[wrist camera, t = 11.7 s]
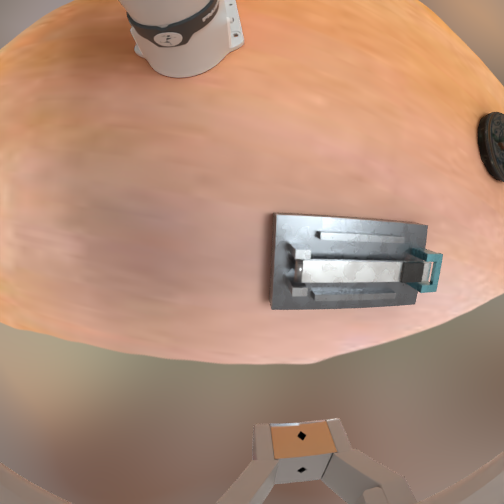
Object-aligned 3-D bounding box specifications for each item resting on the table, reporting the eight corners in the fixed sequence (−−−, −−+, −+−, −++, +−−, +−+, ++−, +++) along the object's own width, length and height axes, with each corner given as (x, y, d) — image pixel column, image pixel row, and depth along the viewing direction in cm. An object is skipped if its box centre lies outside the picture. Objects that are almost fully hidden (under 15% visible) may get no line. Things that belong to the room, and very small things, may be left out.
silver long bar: (294, 258, 36) (297, 261, 35) (427, 260, 37) (433, 263, 36) (293, 279, 37) (295, 283, 35) (424, 278, 38) (430, 281, 36)
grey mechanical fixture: (273, 212, 41) (281, 217, 33) (417, 222, 43) (446, 229, 34) (268, 299, 44) (274, 323, 36) (406, 296, 46) (431, 313, 37)
